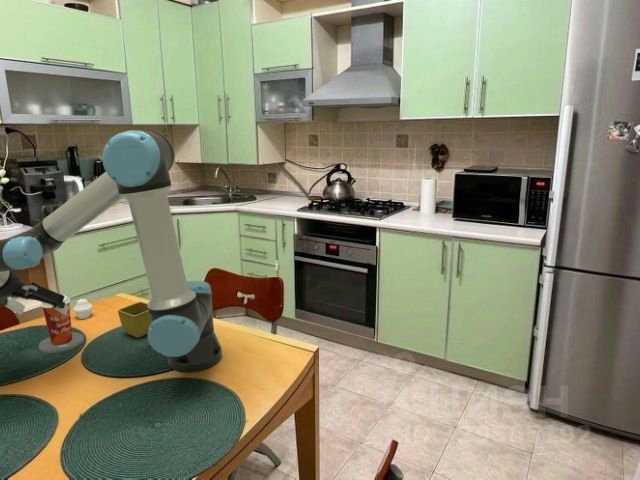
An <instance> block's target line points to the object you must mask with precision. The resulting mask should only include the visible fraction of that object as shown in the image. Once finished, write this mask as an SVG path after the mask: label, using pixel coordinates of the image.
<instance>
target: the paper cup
mask: <svg viewBox="0 0 640 480" xmlns="http://www.w3.org/2000/svg"><path fill="white" fill-rule="evenodd" d="M62 295H63V296H65V297H64V300H63V302H64V303H65V304H67V305H68V306H69V309H68V312H67V315H63V314H62V313H60V312H59V311H57V310H56V309H54V308H53V307H52V305H51V304H47V303H44V302H41V303H40V307H42V311H43V314H44V319H45V323H46V324H45V325H46V327H47V330H48V334H49V337H50V339H51V342H52V344H53V345H62V344H66V343H68V342H70V341H71V340H72V332H73V329H72V319H71V318H72V317H71V306H70V302H71V298H69V296H68V295H65V294H62Z"/></svg>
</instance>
